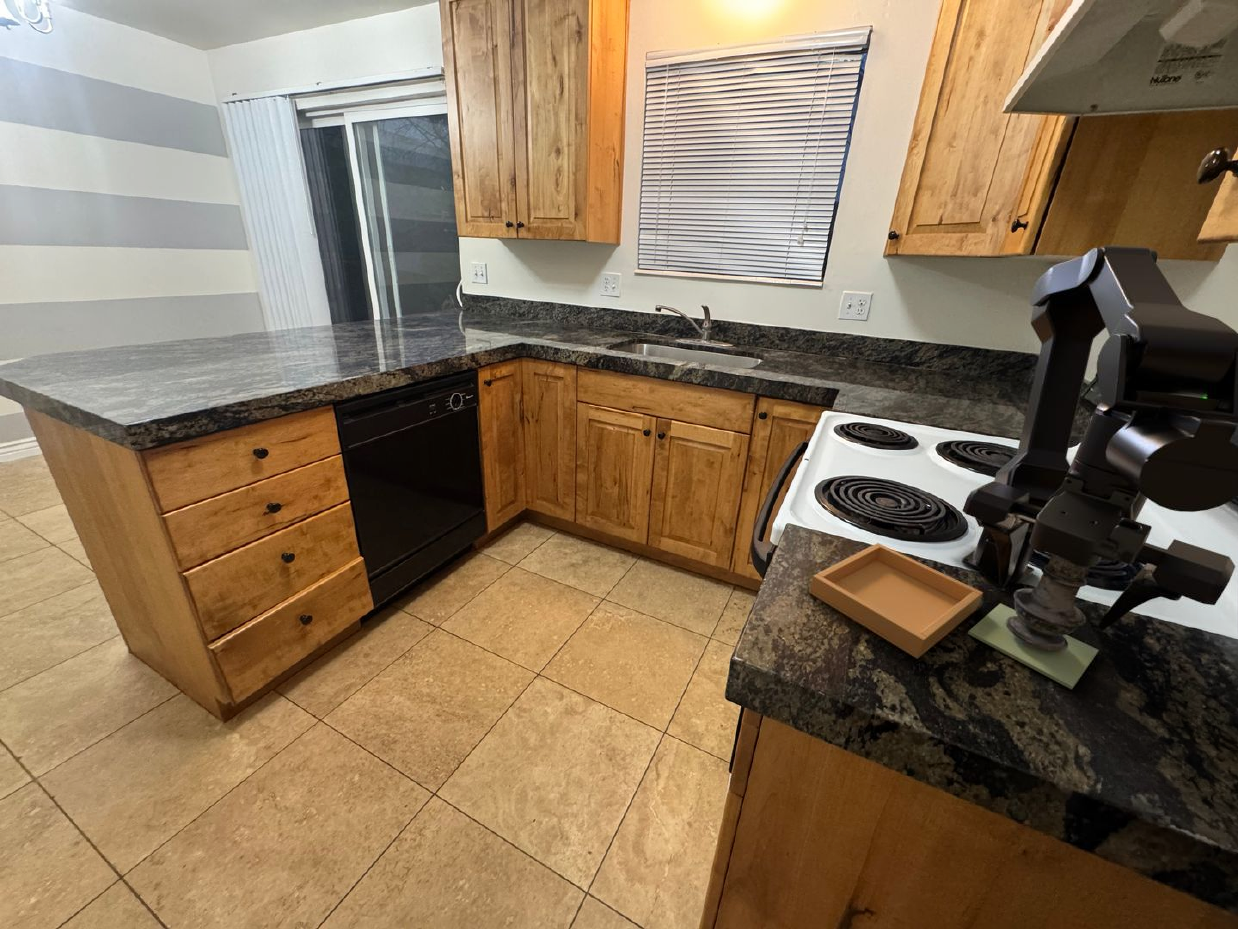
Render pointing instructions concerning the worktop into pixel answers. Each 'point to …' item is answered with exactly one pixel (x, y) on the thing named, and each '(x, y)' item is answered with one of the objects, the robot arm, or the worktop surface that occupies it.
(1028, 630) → the stone finial
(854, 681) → the worktop surface
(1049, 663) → the mat
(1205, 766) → the worktop surface
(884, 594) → the tray
